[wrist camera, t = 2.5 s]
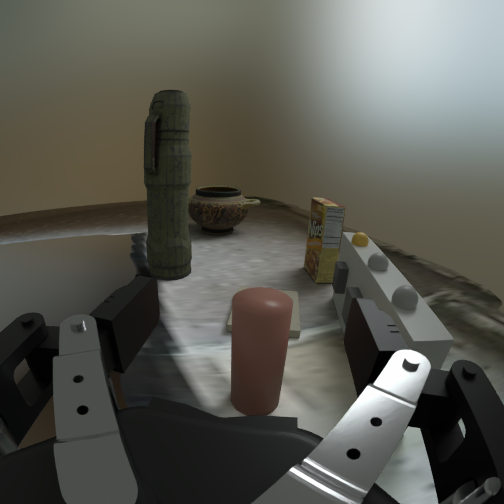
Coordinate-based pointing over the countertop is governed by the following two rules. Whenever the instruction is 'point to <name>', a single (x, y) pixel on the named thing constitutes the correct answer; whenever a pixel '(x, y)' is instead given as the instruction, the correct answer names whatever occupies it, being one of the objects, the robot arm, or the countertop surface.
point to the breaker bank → (387, 297)
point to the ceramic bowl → (219, 208)
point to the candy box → (323, 239)
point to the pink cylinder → (259, 348)
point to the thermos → (168, 185)
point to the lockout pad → (294, 320)
